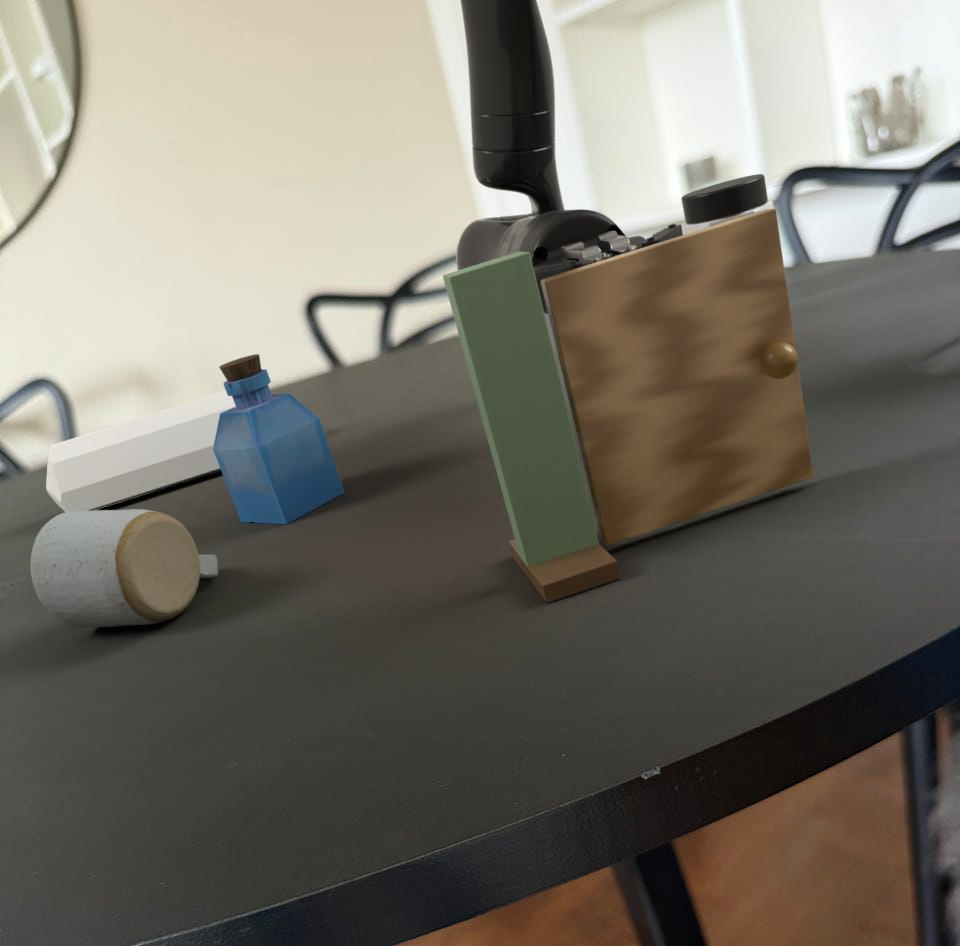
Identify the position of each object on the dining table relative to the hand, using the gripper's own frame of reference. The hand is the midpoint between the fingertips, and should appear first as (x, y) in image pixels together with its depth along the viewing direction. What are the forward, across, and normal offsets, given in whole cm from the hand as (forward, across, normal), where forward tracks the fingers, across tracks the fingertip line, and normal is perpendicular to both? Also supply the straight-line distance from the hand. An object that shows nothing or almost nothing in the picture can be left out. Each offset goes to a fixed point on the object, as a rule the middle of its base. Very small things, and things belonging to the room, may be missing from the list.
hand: (642, 275), depth 61 cm
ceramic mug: (-5, -35, +12) cm, 38 cm away
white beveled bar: (-45, -37, +12) cm, 60 cm away
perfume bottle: (-20, -25, +12) cm, 35 cm away
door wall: (+11, -11, +12) cm, 19 cm away
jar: (-42, +24, +12) cm, 50 cm away
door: (+12, -2, +11) cm, 16 cm away
